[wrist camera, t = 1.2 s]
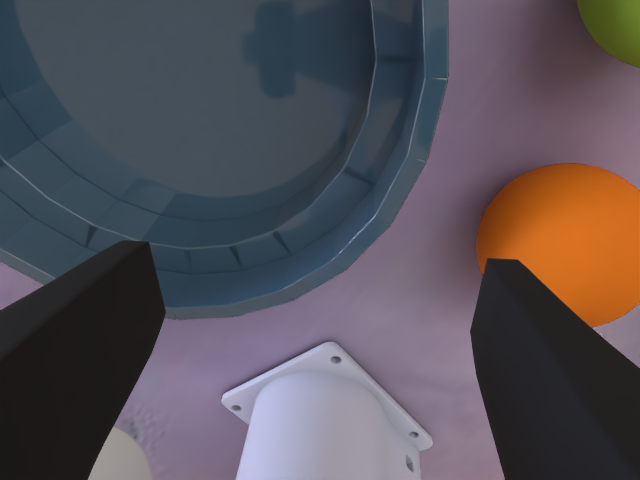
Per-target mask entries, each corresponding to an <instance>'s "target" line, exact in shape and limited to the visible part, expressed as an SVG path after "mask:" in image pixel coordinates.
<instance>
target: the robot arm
mask: <svg viewBox="0 0 640 480" xmlns="http://www.w3.org/2000/svg"><path fill="white" fill-rule="evenodd" d="M165 315H166V310H165V306H164V302H163V297H162V293H161V289H160V285H159V281H158V277H157V273H156V269H155V265H154V260H153V256H152V252H151V248H150V244H149V241H129V240H122V241H120V242H118V243H115V244H113V245H112V246H110V247H108V248H106V249H104V250H103V251H101V252H99V253H97V254H96V255H94V256H92V257H91V258H89V259H87V260H86V261H84V262H82V263H81V264H79V265H77V266H76V267H74V268H72V269H71V270H69V271H68V272H66V273H64V274H63V275H61V276H59V277H58V278H56V279H54V280H53V281H51V282H49V283H48V284H46V285H44V286H43V287H41V288H39V289H38V290H36V291H34V292H32V293H31V294H29V295H27V296H25V297H24V298H22V299H20V300H18V301H16V302H15V303H13V304H11V305H9V306H7V307H6V308H4V309H2V310H0V480H88V477H89V475H90V473H91V470H92V468H93V465H94V463H95V461H96V459H97V457H98V455H99V453H100V451H101V449H102V446H103V444H104V443H105V441H106V439H107V437H108V435H109V433H110V431H111V429H112V428H113V426H114V424H115V422H116V420H117V418H118V416H119V414H120V412H121V411H122V409H123V407H124V405H125V403H126V401H127V399H128V397H129V396H130V394H131V392H132V390H133V388H134V386H135V384H136V382H137V380H138V379H139V377H140V375H141V373H142V371H143V369H144V367H145V365H146V363H147V361H148V359H149V357H150V355H151V353H152V351H153V348H154V346H155V343H156V340H157V338H158V335H159V332H160V329H161V326H162V323H163V320H164V317H165ZM470 333H471V340H472V348H473V356H474V362H475V369H476V375H477V379H478V383H479V387H480V390H481V394H482V398H483V401H484V405H485V409H486V412H487V416H488V420H489V423H490V427H491V430H492V434H493V438H494V441H495V445H496V448H497V452H498V455H499V459H500V463H501V466H502V470H503V473H504V477H505V480H640V368H639V367H637V366H636V365H635V364H634V363H632V362H631V361H630V360H629V359H628V358H626V357H625V356H624V355H623V354H621V353H620V352H619V351H618V350H617V349H615V348H614V347H613V346H612V345H610V344H609V343H608V342H607V341H606V340H605V339H604V338H602V337H601V336H600V335H599V334H598V333H597V332H595V331H594V330H593V329H592V328H591V327H590V326H589V325H588V324H586V323H585V322H584V321H583V320H582V319H581V318H580V317H579V316H578V315H577V314H575V313H574V312H573V311H572V310H571V309H570V308H569V307H568V306H567V305H566V304H565V303H564V302H562V301H561V300H560V299H559V298H558V297H557V296H556V295H555V294H554V293H553V292H552V291H551V290H550V289H549V288H548V287H547V286H546V285H545V284H544V283H543V282H542V281H540V280H539V279H538V278H537V277H536V276H535V275H534V274H533V273H532V272H531V271H530V270H529V269H528V268H527V267H526V266H525V265H524V264H522V263H521V262H520V261H519V260H517V259H497V258H487V261H486V265H485V270H484V274H483V278H482V283H481V287H480V291H479V296H478V300H477V304H476V309H475V313H474V317H473V322H472V326H471V330H470ZM335 356H336V357H339V358H335ZM221 402H222V404H223V405H224V406H225V407H226V408H227V409H229V410H230V411H231V412H232V413H234V414H235V415H236V416H238V417H239V418H240V419H241V420H243V421H244V422H245V423H246V424H248V425H249V429H248V433H247V437H246V441H245V445H244V449H243V453H242V457H241V461H240V465H239V469H238V473H237V477H236V480H421V469H420V457H419V452H420V451H422V450H425V449H428V448H430V447H431V446H432V443H433V442H432V437H431V436H430V435H429V434H428V433H427V432H426V431H425V430H424V429H423V428H422V427H421V426H420V425H419V424H418V423H417V422H416V421H415V420H414V419H413V418H412V417H411V416H410V415H409V414H408V413H407V412H406V411H405V410H404V409H403V408H402V407H401V406H400V405H399V404H398V403H397V402H396V401H395V400H394V399H393V398H392V397H391V396H390V395H389V394H388V393H387V392H386V391H385V390H384V389H383V388H382V387H381V386H380V385H379V384H378V383H377V382H375V381H374V380H373V379H372V378H371V377H370V376H369V375H368V374H367V373H366V372H365V371H364V370H363V369H362V368H361V367H360V366H359V365H358V364H357V363H356V362H355V361H354V360H353V359H352V358H351V357H350V356H349V355H348V354H347V353H346V352H345V351H344V350H343V349H342V348H341V347H340V346H339V345H338V344H336V343H334V342H325V343H323V344H321V345H319V346H317V347H315V348H313V349H311V350H309V351H307V352H305V353H303V354H301V355H299V356H297V357H295V358H293V359H291V360H289V361H287V362H285V363H283V364H281V365H280V366H278V367H276V368H274V369H272V370H270V371H268V372H266V373H264V374H262V375H260V376H258V377H256V378H254V379H252V380H250V381H248V382H246V383H244V384H242V385H240V386H238V387H236V388H234V389H232V390H230V391H228V392H226V393H225V394H223V397H222V400H221Z"/></svg>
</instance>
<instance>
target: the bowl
mask: <svg viewBox="0 0 640 480" xmlns="http://www.w3.org/2000/svg"><path fill="white" fill-rule="evenodd" d="M448 76H449V21H448V0H0V262H2V263H4V264H6V265H8V266H9V267H11V268H13V269H15V270H17V271H19V272H21V273H23V274H24V275H26V276H28V277H30V278H32V279H34V280H36V281H38V282H39V283H41V284H43V285H46V284H48V283H49V282H51V281H53V280H54V279H56V278H58V277H59V276H61V275H63V274H64V273H66V272H68V271H69V270H71V269H72V268H74V267H76V266H77V265H79V264H81V263H82V262H84V261H86V260H87V259H89V258H91V257H92V256H94V255H96V254H97V253H99V252H101V251H103V250H104V249H106V248H108V247H110V246H112V245H113V244H115V243H118V242H120V241H122V240H129V241H149V244H150V248H151V252H152V256H153V260H154V265H155V269H156V273H157V277H158V281H159V285H160V289H161V293H162V297H163V302H164V306H165V310H166V315H165V317H164V318H167V319H174V320H176V319H177V320H185V319H204V318H223V317H235V316H236V317H237V316H241V315H245V314H248V313H252V312H255V311H259V310H262V309H266V308H269V307H273V306H277V305H280V304H284V303H287V302H291V301H292V300H295V299H297V298H298V297H300V296H302V295H304V294H305V293H307V292H309V291H311V290H312V289H314V288H316V287H318V286H319V285H321V284H323V283H325V282H326V281H328V280H330V279H332V278H333V277H335V276H337V275H339V274H340V273H342V272H344V270H346V269H347V268H348V267H349V266H350V265H351V264H352V263H353V262H354V261H355V260H356V259H357V258H358V257H359V256H360V255H361V254H362V253H363V252H364V251H365V250H366V249H367V248H368V247H370V246H371V245H372V244H373V243H374V242H375V241H376V240H377V239H378V238H379V237H380V236H381V235H382V234H383V233H384V232H385V231H386V230H387V229H388V228H389V227H390V224H392V222H393V221H394V219H395V217H396V215H397V214H398V212H399V210H400V208H401V207H402V205H403V203H404V201H405V200H406V198H407V196H408V194H409V193H410V191H411V189H412V187H413V186H414V184H415V182H416V180H417V178H418V177H419V175H420V173H421V171H422V170H423V168H424V166H425V164H426V160H428V157H429V153H430V149H431V145H432V142H433V138H434V134H435V130H436V126H437V122H438V118H439V114H440V110H441V106H442V102H443V99H444V95H445V91H446V87H447V83H448V78H447V77H448Z"/></svg>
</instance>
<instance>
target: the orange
mask: <svg viewBox="0 0 640 480" xmlns="http://www.w3.org/2000/svg"><path fill="white" fill-rule="evenodd" d="M476 249H477V258H478V263H479V267H480V270H481V273H482V275H483V274H484V270H485V265H486V261H487V258H497V259H517V260H519V261H520V262H521V263H522V264H524V265H525V266H526V267H527V268H528V269H529V270H530V271H531V272H532V273H533V274H534V275H535V276H536V277H537V278H538V279H539V280H540V281H542V282H543V283H544V284H545V285H546V286H547V287H548V288H549V289H550V290H551V291H552V292H553V293H554V294H555V295H556V296H557V297H558V298H559V299H560V300H561V301H562V302H564V303H565V304H566V305H567V306H568V307H569V308H570V309H571V310H572V311H573V312H574V313H575V314H577V315H578V316H579V317H580V318H581V319H582V320H583V321H584V322H585V323H586V324H588V325H589V326H590V327H591V328H593V327H597V326H600V325H603V324H606V323H609V322H611V321H614V320H616V319H618V318H620V317H621V316H623V315H625V314H626V313H628V312H629V311H631V310H632V309H633V308H635V307H636V306H637V305H638V304H639V303H640V191H639V190H638V189H637V188H636V187H634V186H633V185H632V184H631V183H629V182H628V181H627V180H625V179H624V178H622V177H620V176H618V175H616V174H614V173H612V172H610V171H608V170H605V169H602V168H599V167H595V166H590V165H585V164H576V163H566V164H555V165H548V166H544V167H540V168H537V169H534V170H532V171H529V172H527V173H525V174H523V175H521V176H519V177H517V178H516V179H514V180H513V181H511V182H510V183H508V184H507V185H506V186H505V187H503V188H502V189H501V190H500V191H499V193H498V194H497V195H496V196H495V197H494V198H493V200H492V201H491V202H490V204H489V205H488V207H487V209H486V210H485V212H484V214H483V217H482V219H481V222H480V225H479V229H478V233H477V243H476Z"/></svg>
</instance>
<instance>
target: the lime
mask: <svg viewBox="0 0 640 480" xmlns="http://www.w3.org/2000/svg"><path fill="white" fill-rule="evenodd" d="M577 5H578V9H579V13H580V16H581V18H582V21H583V23H584V25H585V27H586V29H587V30H588V32H589V34H590V35H591V37H592V38H593V39H594V40H595V42H596V43H597V44H598V45H599V46H600V47H601V48H603V49H604V50H605V51H606V52H607V53H609V54H610V55H611V56H613V57H615V58H617V59H618V60H620V61H622V62H625V63H627V64H630V65H633V66H636V67H638V68H640V0H577Z"/></svg>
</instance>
